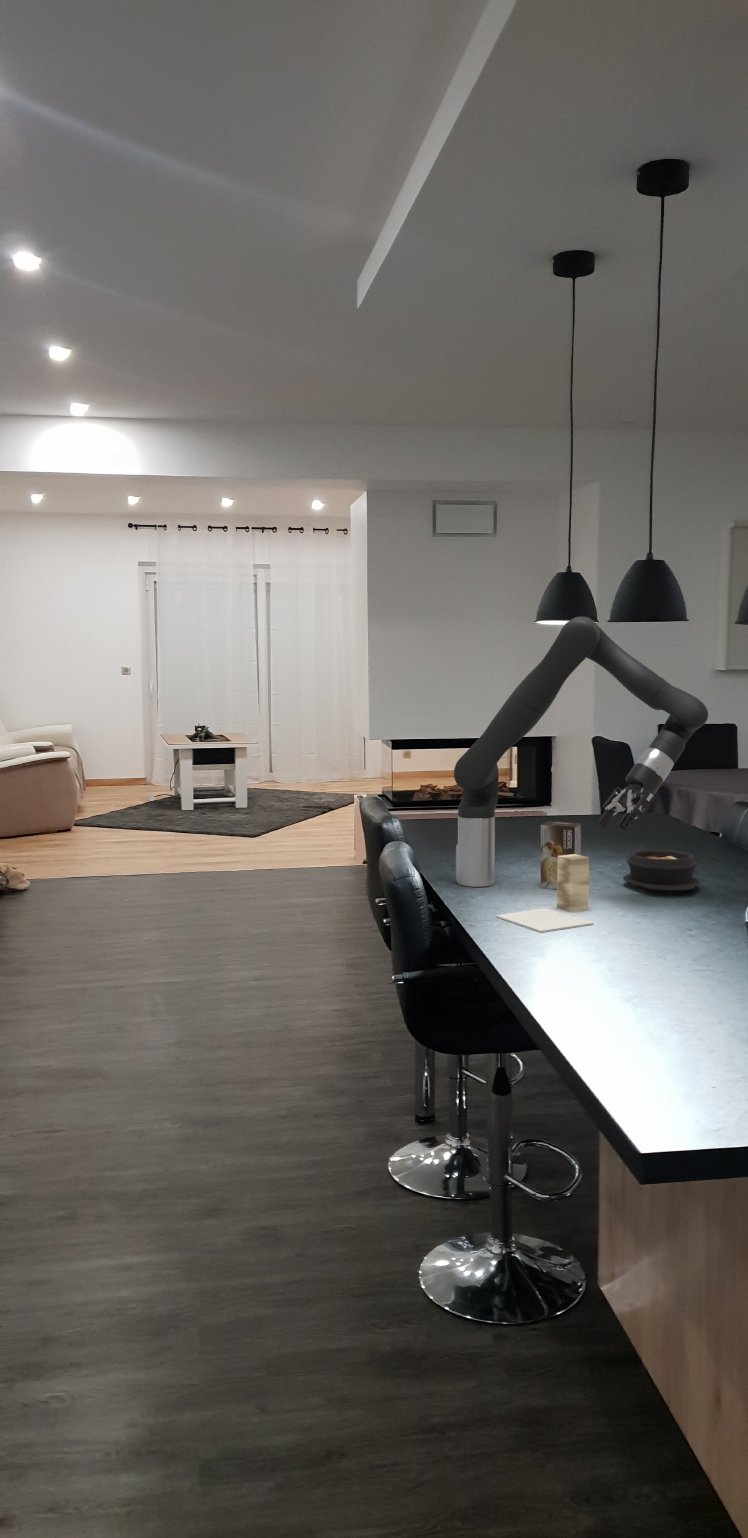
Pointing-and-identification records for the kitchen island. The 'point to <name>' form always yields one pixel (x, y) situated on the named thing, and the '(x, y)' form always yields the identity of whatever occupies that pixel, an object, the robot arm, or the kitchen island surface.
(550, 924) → the felt mat
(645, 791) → the robot arm
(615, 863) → the kitchen island surface
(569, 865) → the birch block
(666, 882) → the casserole
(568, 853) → the coffee box
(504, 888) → the kitchen island surface
